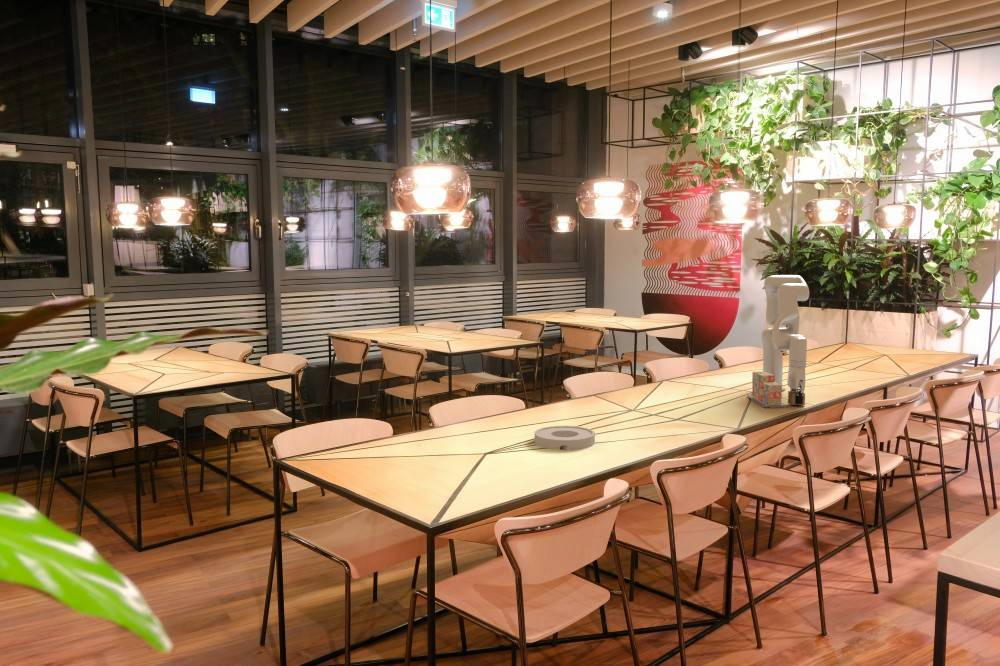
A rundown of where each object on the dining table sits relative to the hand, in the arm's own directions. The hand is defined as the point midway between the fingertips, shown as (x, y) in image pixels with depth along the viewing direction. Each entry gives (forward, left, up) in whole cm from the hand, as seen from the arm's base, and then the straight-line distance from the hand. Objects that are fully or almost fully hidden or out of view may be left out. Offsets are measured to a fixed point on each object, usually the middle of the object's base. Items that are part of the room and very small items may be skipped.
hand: (796, 402), depth 357 cm
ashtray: (+61, -112, -2) cm, 128 cm away
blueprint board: (-7, -12, -1) cm, 13 cm away
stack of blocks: (-6, -12, 0) cm, 13 cm away
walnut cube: (0, 0, -1) cm, 1 cm away
